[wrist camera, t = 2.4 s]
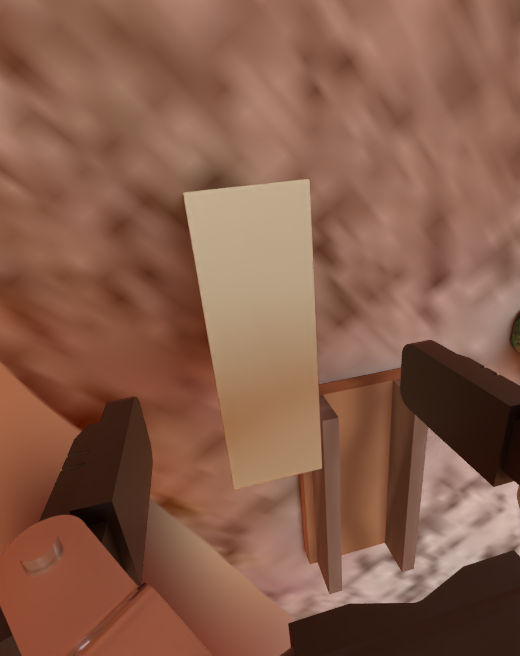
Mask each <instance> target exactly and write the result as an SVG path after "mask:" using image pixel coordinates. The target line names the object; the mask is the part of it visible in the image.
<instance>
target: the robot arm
mask: <svg viewBox="0 0 520 656" xmlns="http://www.w3.org/2000/svg"><path fill="white" fill-rule="evenodd" d="M400 393H401V397H402V400H403V402H404V404H405V405H406V407H407V408H408V409H409V410H410V411H411V412H412V413H414V414H415V415H416V416H417V417H418V418H419V419H420V420H421V421H422V422H423V423H424V424H426V425H427V426H428V427H429V428H430V429H431V430H432V431H433V432H434V433H435V434H436V435H438V436H439V437H440V438H441V439H442V440H443V441H444V442H445V443H446V444H447V445H448V446H450V447H451V448H452V449H453V450H454V451H455V452H456V453H457V454H458V455H459V456H461V457H462V458H463V459H464V460H465V461H466V462H467V463H468V464H469V465H470V466H471V467H473V468H474V469H475V470H476V471H477V472H478V473H479V474H480V475H481V476H482V477H483V478H485V479H486V480H487V481H488V482H489V483H490V484H491V485H492V486H493V487H495V486H498V485H502V484H505V483H509V482H513V481H515V482H516V483H517V484H519V487H518V491H517V500H518V503H519V507H520V386H519V385H517V384H516V383H514V382H512V381H510V380H508V379H507V378H505V377H503V376H501V375H497V373H496V372H494V371H492V370H490V369H488V368H484V366H483V365H481V364H479V363H477V362H476V361H474V360H472V359H470V358H468V357H465V356H462V355H458V354H456V353H454V352H452V351H451V350H449V349H447V348H445V347H443V346H442V345H440V344H438V343H436V342H435V341H432V340H427V341H422V342H416V343H411V344H407V345H405V347H404V348H403V351H402V364H401V380H400ZM152 465H153V459H152V449H151V443H150V439H149V436H148V432H147V428H146V424H145V421H144V417H143V413H142V409H141V406H140V402H139V400H138V398H137V397H131V398H125V399H120V400H115V401H110V402H107V404H106V406H105V409H104V412H103V415H102V418H101V421H100V423H95V424H90V425H88V426H87V427H86V428H85V429H84V430H83V431H82V432H81V433H80V434H79V435H78V436H77V437H76V438H75V439H74V441H73V444H72V446H71V448H70V451H69V453H68V458H66V460H65V462H64V465H63V467H62V471H61V472H60V474H59V476H58V479H57V481H56V483H55V486H54V488H53V490H52V493H51V495H50V497H49V500H48V502H47V504H46V507H45V509H44V511H43V514H42V516H41V518H40V521H39V522H38V523H36V524H34V525H33V526H31V527H29V528H28V529H26V530H25V531H24V532H22V533H21V534H20V535H19V536H17V537H16V538H15V539H14V540H13V541H12V542H11V543H10V544H9V545H8V546H7V547H6V548H5V549H4V551H3V552H2V553H1V555H0V656H213V655H212V654H211V653H210V652H209V651H208V650H207V648H205V646H204V645H203V644H202V643H201V642H200V640H199V639H198V638H197V637H196V636H195V635H194V634H193V633H192V632H191V630H190V629H189V628H188V627H187V626H186V625H185V623H184V622H183V621H182V620H181V619H180V618H179V617H178V616H177V614H176V613H175V612H174V611H173V610H172V609H171V608H170V607H169V605H168V604H167V603H166V602H165V601H164V600H163V598H162V597H161V596H160V595H159V594H158V593H157V592H156V591H155V590H154V589H153V588H152V587H151V586H150V585H148V584H146V583H144V584H143V585H141V582H142V571H143V561H144V549H145V540H146V529H147V519H148V508H149V497H150V487H151V476H152ZM139 586H140V587H139ZM288 625H289V634H290V643H291V648H290V649H288V650H287V651H286V652H284V653H283V654H282V655H280V656H520V556H519V555H518V554H517V553H516V552H515V551H514V550H513V551H510V552H507V553H504V554H501V555H498V556H495V557H492V558H489V559H486V560H482V561H479V562H476V563H473V564H470V565H467V566H464V567H462V568H461V569H460V570H459V571H457V572H456V573H455V574H454V575H453V576H451V577H450V578H449V579H448V580H446V581H445V582H444V583H443V584H441V585H440V586H439V587H438V588H437V589H435V590H434V591H433V592H432V593H430V594H429V595H428V596H427V597H426V598H424V599H423V600H421V601H419V602H416V603H376V604H347V605H344V606H341V607H338V608H335V609H332V610H329V611H325V612H322V613H319V614H316V615H313V616H310V617H307V618H304V619H301V620H298V621H295V622H292V623H289V624H288Z"/></svg>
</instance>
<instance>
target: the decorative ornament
mask: <svg viewBox="0 0 520 656" xmlns="http://www.w3.org/2000/svg"><path fill="white" fill-rule="evenodd" d="M511 343H512V345H513V346H514V348H515V350H517V351H518V352H519V353H520V317H519V318H518V319H517V320H516V322H515V323H514V328H513V333H512V338H511Z"/></svg>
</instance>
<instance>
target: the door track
mask: <svg viewBox="0 0 520 656" xmlns="http://www.w3.org/2000/svg"><path fill="white" fill-rule="evenodd" d="M400 380H401V368H398V369H394V370H389V371H384V372H379V373H374V374H369V375H364V376H359V377H354V378H350V379H345V380H340V381H335V382H330V383H325V384H320V385H318V386H319V408H320V431H321V454H322V469H318V470H314V471H309V472H305V473H301V474H299V479H300V492H301V505H302V518H303V531H304V544H305V552H306V554H307V557H308V560H309V563H310V564H312V563H316V562H318V564H319V567H320V570H321V572H322V575H323V578H324V581H325V583H326V586H327V589H328V591H329V594H332V593H335V592H338V591H342V564H341V555H344V554H347V553H351V552H354V551H358V550H361V549H364V548H368V547H371V546H375V545H378V544H382V543H386V545H387V547H388V549H389V550H390V552H391V554H392V555H393V557H394V559H395V561H396V562H397V564H398V566H399V567H400V569H401V571H402V572H404V571H407V570H411V569H414V562H415V552H416V542H417V532H418V522H419V512H420V502H421V491H422V481H423V471H424V461H425V451H426V441H427V431H428V426H427V425H426V424H424V423H423V422H422V421H421V420H420V419H419V418H418V417H417V416H416V415H415V414H414V413H412V412H411V411H410V410H409V409H408V408H407V407H406V405H405V404H404V402H403V400H402V397H401V393H400Z"/></svg>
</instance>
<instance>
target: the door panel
mask: <svg viewBox="0 0 520 656" xmlns="http://www.w3.org/2000/svg"><path fill="white" fill-rule="evenodd" d="M183 198H184V204H185V209H186V215H187V221H188V227H189V233H190V238H191V244H192V250H193V256H194V262H195V267H196V273H197V279H198V285H199V290H200V296H201V302H202V308H203V314H204V319H205V325H206V331H207V337H208V343H209V348H210V354H211V360H212V366H213V371H214V377H215V383H216V388H217V394H218V400H219V405H220V411H221V417H222V422H223V428H224V434H225V439H226V445H227V451H228V456H229V462H230V468H231V473H232V479H233V485H234V490H236V489H240V488H244V487H248V486H252V485H256V484H260V483H264V482H269V481H273V480H277V479H281V478H285V477H289V476H293V475H297V474H301V473H305V472H309V471H314V470H318V469H322V454H321V431H320V408H319V386H318V363H317V340H316V317H315V295H314V272H313V249H312V226H311V204H310V181H309V179H304V180H295V181H285V182H276V183H267V184H258V185H248V186H239V187H230V188H220V189H211V190H202V191H193V192H183Z"/></svg>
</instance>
